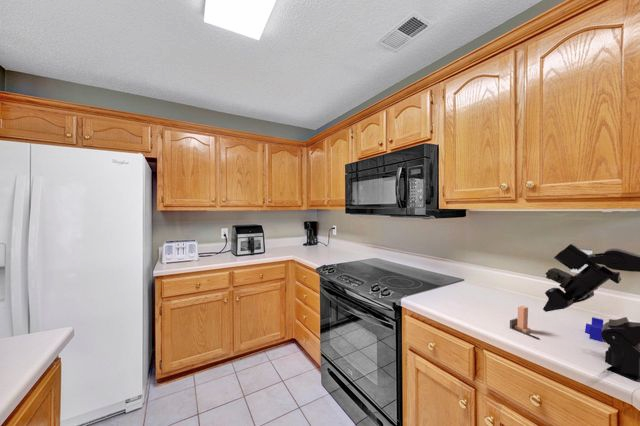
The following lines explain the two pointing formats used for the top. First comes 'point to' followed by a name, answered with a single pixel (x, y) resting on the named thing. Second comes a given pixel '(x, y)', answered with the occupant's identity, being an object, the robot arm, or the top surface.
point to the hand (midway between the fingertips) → (551, 307)
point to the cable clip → (595, 329)
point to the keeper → (522, 319)
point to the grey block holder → (512, 324)
